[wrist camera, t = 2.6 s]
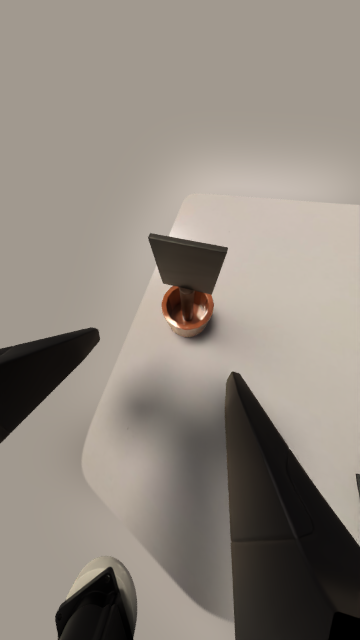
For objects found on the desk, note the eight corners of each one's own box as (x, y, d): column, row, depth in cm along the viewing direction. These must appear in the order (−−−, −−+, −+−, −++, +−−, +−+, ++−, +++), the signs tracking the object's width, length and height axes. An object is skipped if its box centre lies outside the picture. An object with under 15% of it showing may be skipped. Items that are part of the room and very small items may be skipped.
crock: (181, 345, 20) (178, 339, 15) (161, 312, 22) (152, 297, 17) (215, 323, 21) (224, 311, 16) (193, 293, 23) (194, 273, 18)
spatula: (200, 325, 21) (224, 260, 7) (171, 317, 21) (144, 244, 8) (203, 316, 21) (230, 240, 8) (174, 308, 22) (153, 226, 8)
